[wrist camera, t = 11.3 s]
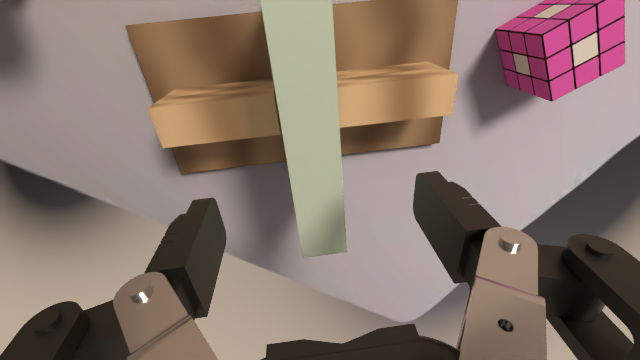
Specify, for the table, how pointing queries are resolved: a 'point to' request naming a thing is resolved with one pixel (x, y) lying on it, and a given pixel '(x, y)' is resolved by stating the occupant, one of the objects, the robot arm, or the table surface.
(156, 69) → the oak slotted rail
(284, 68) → the sage slotted plate
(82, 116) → the table surface
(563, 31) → the puzzle toy
